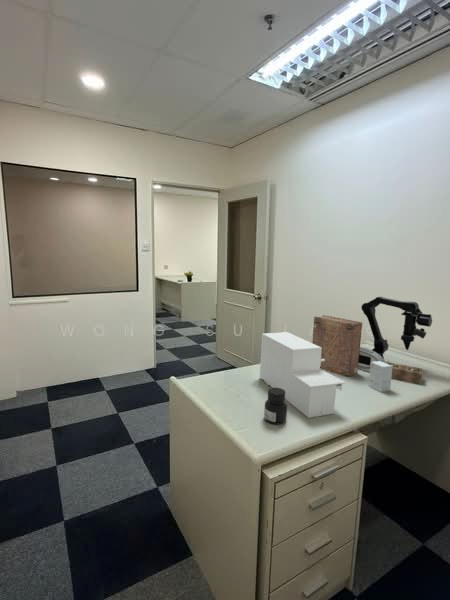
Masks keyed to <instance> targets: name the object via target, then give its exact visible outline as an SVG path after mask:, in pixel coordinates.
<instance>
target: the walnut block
mask: <svg viewBox="0 0 450 600" xmlns="http://www.w3.org/2000/svg"><path fill="white" fill-rule="evenodd" d="M385 363H386V364H395V365H397V368H396V367H392V377H391V380H397V381H401V382H406V383H410V384H416V385H419V386H420V385H421V384H422V379H423V370H424V369H423V368H421V367H415V366H411V365H406V364H401V363H395V362H388V361H386V362H385ZM409 368H416V369H418V372H417V371H411V370H409Z"/></svg>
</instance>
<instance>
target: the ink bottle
mask: <svg viewBox="0 0 450 600" xmlns="http://www.w3.org/2000/svg"><path fill="white" fill-rule="evenodd" d="M285 401H286V399H285V391H284V390H283V389H281V388H271V387H270V388H268V390H267V399H266V401H265V402H264V411H263V413H264V414H263V416H264V417H263V418H264V420H265V421H266V422H267V423H268V424H271V425H282V424H285V423H286V422H287V417H288V416H287V414H288V413H287V412H288V404H287V403H286V402H285Z"/></svg>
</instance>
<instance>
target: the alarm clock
mask: <svg viewBox="0 0 450 600" xmlns="http://www.w3.org/2000/svg"><path fill="white" fill-rule="evenodd" d="M375 361H381V362H384V363H385V358H384V359H383V358H382V357H381V356H380V355H379V354H378V353H376V352H374V351H373V350H372V349H370V348H368V347H364V346H360V352H359V362H358V370H360V371H364V372H368V373H370V367H371V362H375Z"/></svg>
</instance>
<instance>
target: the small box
mask: <svg viewBox="0 0 450 600" xmlns="http://www.w3.org/2000/svg"><path fill="white" fill-rule="evenodd" d="M392 367H393V366H391V365H389V364H386V362H385V361H384V362H381V361H375V362H371V367H370V372H369V378H368V387H370V388H371V389H374V390H375V391H378V392H380V393H385V392H389V391H391V385H392V379H391V377H392Z"/></svg>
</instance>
